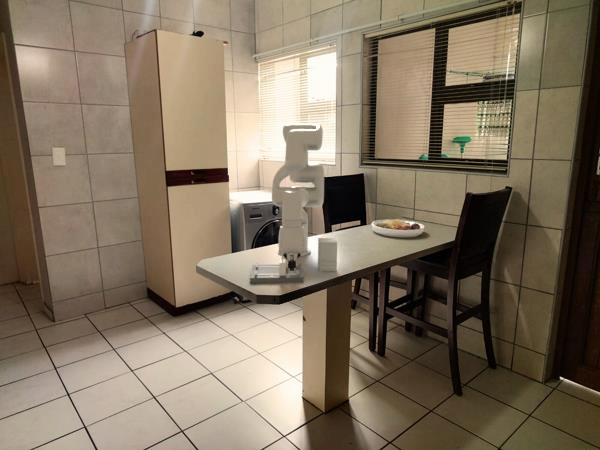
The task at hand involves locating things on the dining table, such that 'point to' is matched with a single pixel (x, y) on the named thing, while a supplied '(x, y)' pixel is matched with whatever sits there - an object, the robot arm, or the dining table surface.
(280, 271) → the block
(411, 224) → the bowl
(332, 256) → the supplement box
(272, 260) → the dining table surface
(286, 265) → the block
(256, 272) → the console
